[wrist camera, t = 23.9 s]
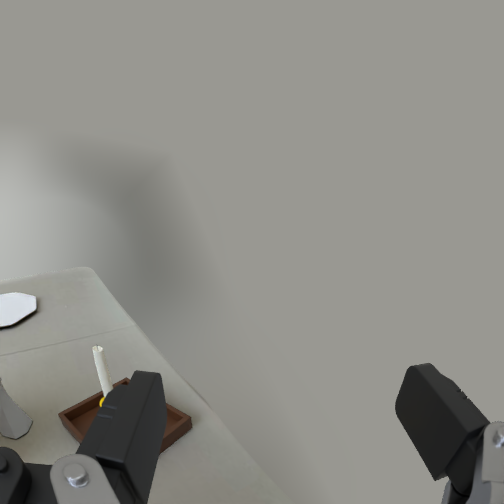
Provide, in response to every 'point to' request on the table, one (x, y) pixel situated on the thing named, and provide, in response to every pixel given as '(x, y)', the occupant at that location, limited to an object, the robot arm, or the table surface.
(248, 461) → the table surface
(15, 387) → the table surface
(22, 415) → the flask
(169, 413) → the tray
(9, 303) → the plate
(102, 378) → the candle
